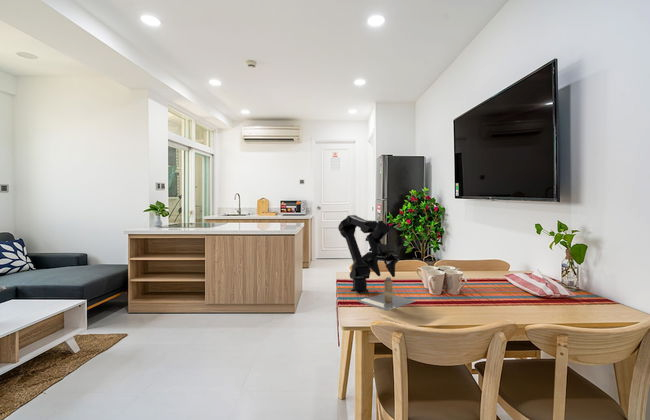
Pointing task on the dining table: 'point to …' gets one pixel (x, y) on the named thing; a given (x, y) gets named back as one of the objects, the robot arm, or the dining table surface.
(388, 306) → the tan cylinder
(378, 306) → the subfloor board
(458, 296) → the dining table surface
